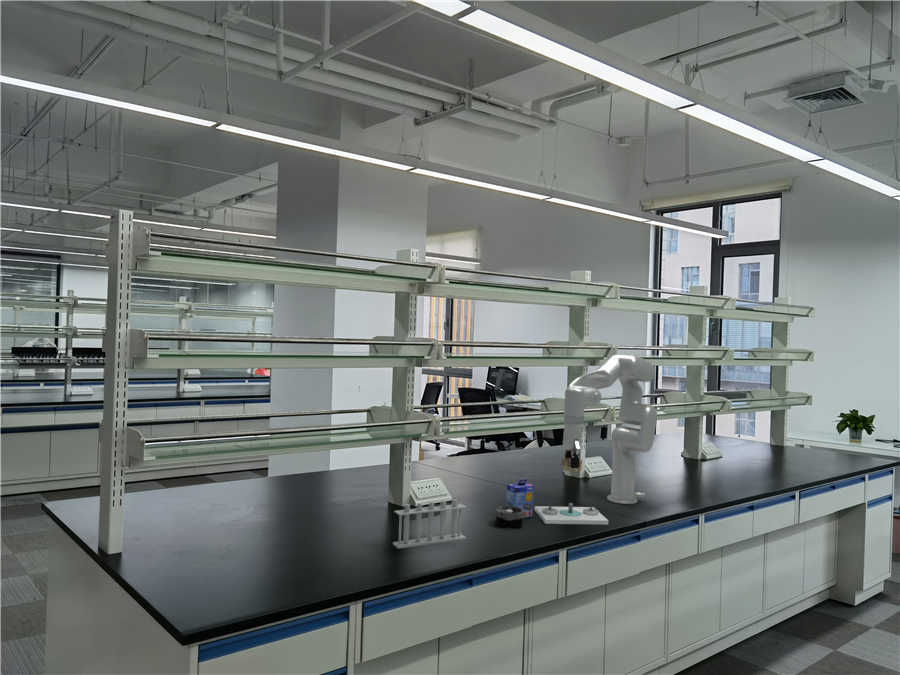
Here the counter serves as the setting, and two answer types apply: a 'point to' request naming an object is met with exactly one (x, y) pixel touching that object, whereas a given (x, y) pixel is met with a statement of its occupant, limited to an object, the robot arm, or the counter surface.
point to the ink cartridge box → (521, 496)
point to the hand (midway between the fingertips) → (571, 465)
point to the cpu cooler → (509, 516)
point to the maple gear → (567, 462)
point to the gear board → (570, 515)
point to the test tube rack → (429, 524)
